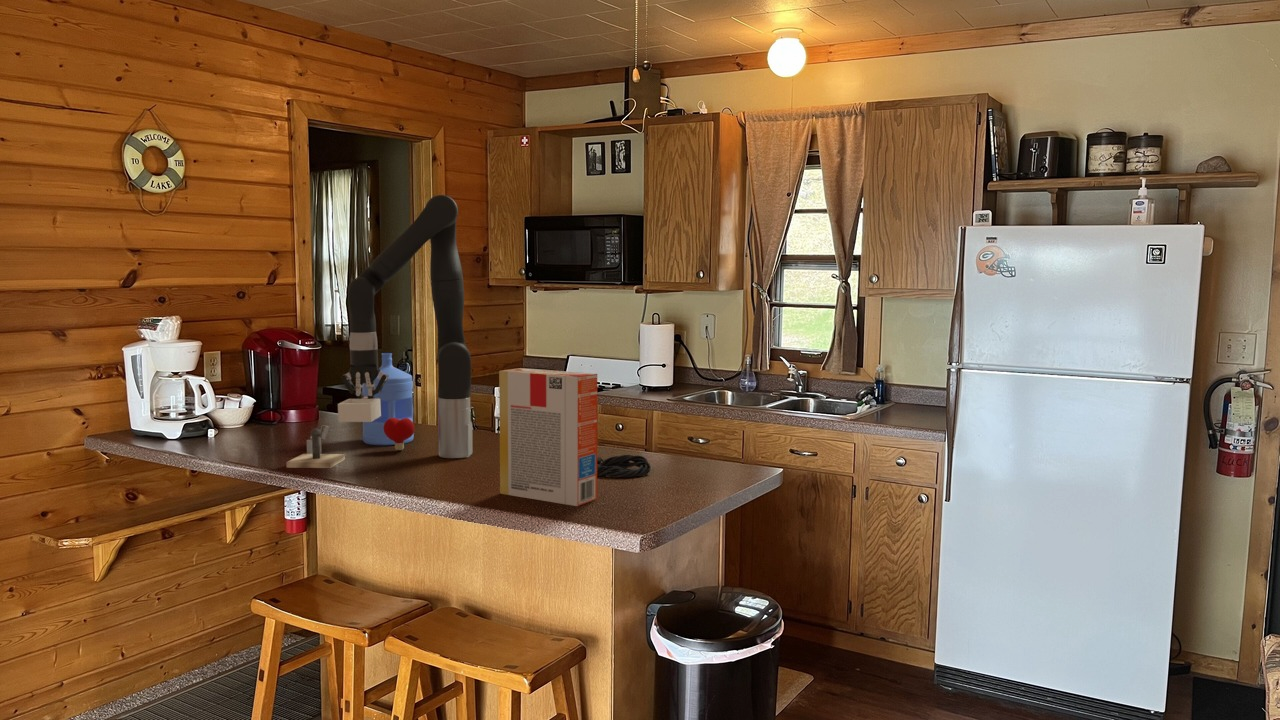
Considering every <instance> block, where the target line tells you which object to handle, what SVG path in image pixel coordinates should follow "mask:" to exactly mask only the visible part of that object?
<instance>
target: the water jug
mask: <svg viewBox="0 0 1280 720" xmlns="http://www.w3.org/2000/svg"><path fill="white" fill-rule="evenodd" d="M392 355H393V353H391V352H384V353H383V352H382V353H381V365H380V367H379V369H380V372H382V373H384V374H388V375H389V377H388V379H387V381H386V383H385V384H384V386H383V388H382V390H381V392H380V393H377V394H375V396H374V397H375V399H380V405H381V416H380V417H378V418H377V419H375V420H374V421H372V422H362V441H363V443H365V444H366V445H371V446H372V445H373V446H395V442H394V441H393V440H391V439H390V438H388V437H387V436H386V435H385V433H384V424H385V422H386V421H387V420H388V419H390V418H397V419H399V420H401V419H404V418H408V419H410V420H411V421H412V422H413V423H414V406H413V405H414V403H413V389H414V386H413V385H414V384H413V375H411V374H410V373H407V372H406V371H403V370H402V369H399V368H397V367H394V365H393V358H392ZM379 381H380V380H379V375H378V376H377V378H376V379H375V381H374V385H375V386H374V389H376V387H377V385H378V383H379ZM363 395H364V397H368V396H369V395H368V389H367V385H366V384H365V383H364V386H363ZM414 434H415V432H414V433H413V435H412V436H411V437H410V438H408V439H406V440H404V441H403V442H404V445H405V444H408V443H411V442H412V441H413V440H414V438H415V437H414V436H415V435H414Z"/></svg>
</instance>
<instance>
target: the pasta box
mask: <svg viewBox="0 0 1280 720" xmlns="http://www.w3.org/2000/svg"><path fill="white" fill-rule="evenodd" d="M498 373H499V374H498V377H499V378H498V379H499V380H498V381H499V383H498V384H499V387H498V389H499V394H498V395H499V399H498V400H499V494H501V495H507V496H513V497H518V498H519V497H520V498H526V499H531V500H538V501H544V502H549V503H550V502H551V503H556V504H561V505H567V506H574V507H579V506H582V505H585V504H587V503H591V502H593V501H595V500H598V475H597V457H598V373H591V372H578V371H567V370H566V371H564V370H552V369H551V370H550V369H539V368H538V369H537V368H523V367H520V368H519V367H518V368H510V369H504V370H499V371H498Z"/></svg>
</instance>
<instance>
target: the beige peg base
mask: <svg viewBox="0 0 1280 720" xmlns="http://www.w3.org/2000/svg"><path fill="white" fill-rule="evenodd" d="M309 434H310V436H312V454H307V453H302V454H300V455H298V456H295V457H294V458H292V459H290V460H287V462H286V468H289V469H293V468H295V469H301V468H302V469H331V468H333V467H335V466H336V465H337V464H339V463H342V462H344V460H346V453H320V435H321V431H320V429H319V428H312V429H311V430H310V433H309Z"/></svg>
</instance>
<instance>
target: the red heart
mask: <svg viewBox="0 0 1280 720" xmlns="http://www.w3.org/2000/svg"><path fill="white" fill-rule="evenodd" d="M415 427H416V426H415V424H414V421H413V422H412V421H411V420H410V419H408V418H404V419H401V420H399V419H397V418H390V419H388V420H387V421H386V422H385V424H384V433H385V435H386V436H387V437H388V438H390V439H391V440H393V441H394V442H395V445H394V449H395V450H396V451H397V452H402V451H403V449H405V444H404V442H403V441H404V440H406V439H408V438H410V437H411V436H412V435H413V433H414V434H415V429H416V428H415Z"/></svg>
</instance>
